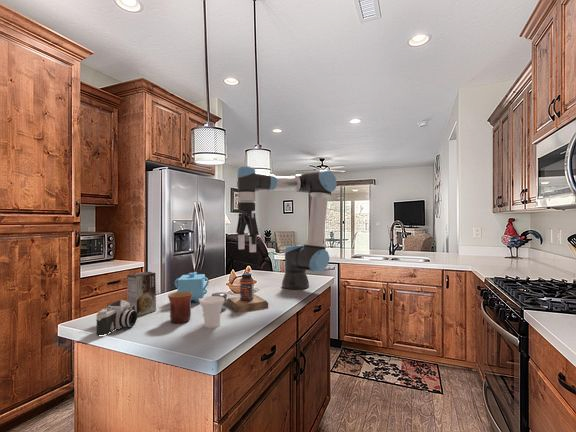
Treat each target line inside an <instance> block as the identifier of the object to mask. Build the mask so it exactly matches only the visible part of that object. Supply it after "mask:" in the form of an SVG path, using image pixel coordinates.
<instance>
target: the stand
mask: <svg viewBox="0 0 576 432" xmlns="http://www.w3.org/2000/svg"><path fill="white" fill-rule="evenodd" d="M253 295H254V297H253V299H252V300H250V301H243V300H241V299H240V295H239V296H233V297H232V296H231V297H227V307H229V308H230V309H231V310H233V311H234V312H235V313H237V314H238V313H242V312H243V313H244V312H248V311H256V309H257V310H261V309H262V308H263V309H267V308H268V309H269V302H268V301H267V300H266V299H264V298H262V297H260V296H259V295H257V294H254V293H253Z"/></svg>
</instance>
